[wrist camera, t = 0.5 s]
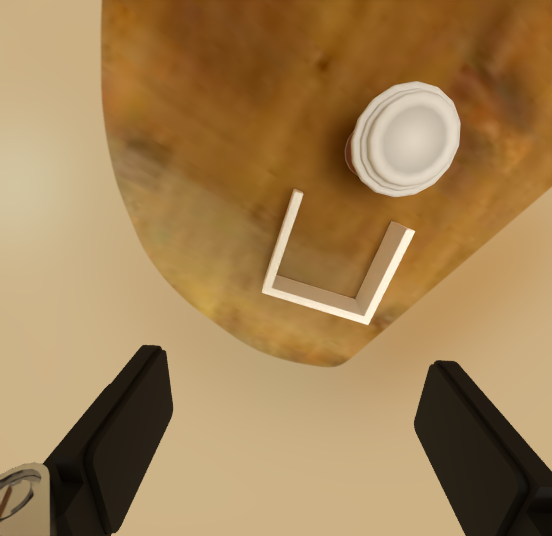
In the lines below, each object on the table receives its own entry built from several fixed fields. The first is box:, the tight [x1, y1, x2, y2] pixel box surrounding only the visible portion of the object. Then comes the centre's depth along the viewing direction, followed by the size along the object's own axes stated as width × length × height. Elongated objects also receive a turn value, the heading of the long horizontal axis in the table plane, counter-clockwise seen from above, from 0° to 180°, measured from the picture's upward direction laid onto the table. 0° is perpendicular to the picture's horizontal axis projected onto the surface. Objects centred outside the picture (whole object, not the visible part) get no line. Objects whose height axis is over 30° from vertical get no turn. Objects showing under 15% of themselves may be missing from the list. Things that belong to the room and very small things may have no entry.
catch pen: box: [262, 189, 415, 325], centre depth 35 cm, size 13×14×5 cm
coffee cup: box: [345, 81, 460, 197], centre depth 28 cm, size 9×9×12 cm
